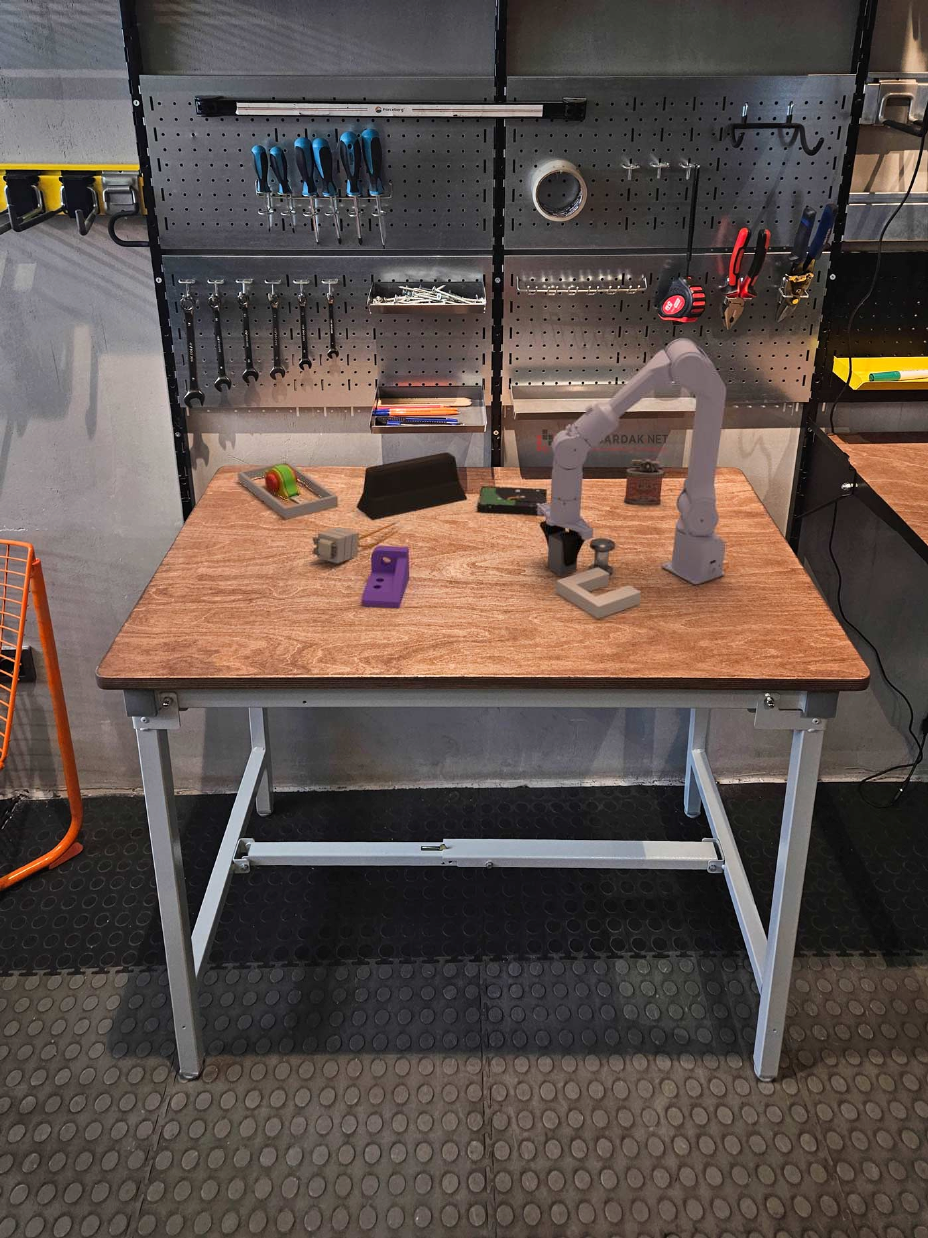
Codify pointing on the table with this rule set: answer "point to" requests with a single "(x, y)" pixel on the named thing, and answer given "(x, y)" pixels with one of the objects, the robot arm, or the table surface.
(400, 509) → the barrier
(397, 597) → the bracket
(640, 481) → the lighter
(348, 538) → the electrical component
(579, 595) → the notched board
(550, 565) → the tab block
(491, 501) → the disk drive
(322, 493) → the rectangular frame
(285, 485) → the toy measuring tape
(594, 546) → the bobbin post
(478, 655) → the table surface
